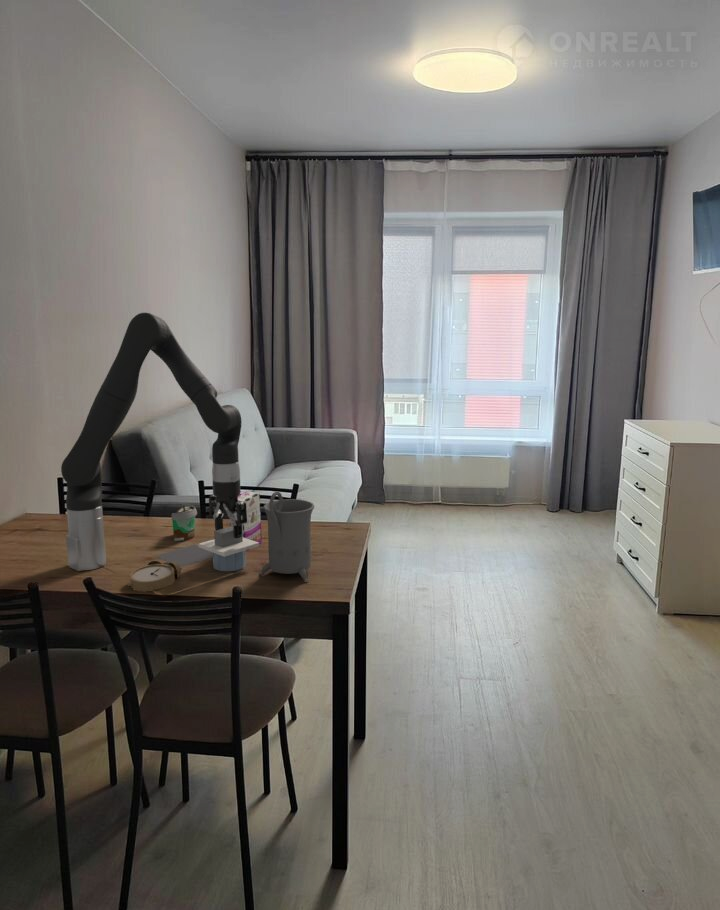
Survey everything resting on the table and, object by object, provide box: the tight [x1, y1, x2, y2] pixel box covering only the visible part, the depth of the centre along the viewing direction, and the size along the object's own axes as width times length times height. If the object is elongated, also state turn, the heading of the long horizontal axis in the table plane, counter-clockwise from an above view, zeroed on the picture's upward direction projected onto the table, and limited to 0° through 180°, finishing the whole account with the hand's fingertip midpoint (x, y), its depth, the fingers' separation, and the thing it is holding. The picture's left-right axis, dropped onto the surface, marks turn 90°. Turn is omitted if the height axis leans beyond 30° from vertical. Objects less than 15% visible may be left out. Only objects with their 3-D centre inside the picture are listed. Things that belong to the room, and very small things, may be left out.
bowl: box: [212, 550, 247, 573], centre depth 191 cm, size 9×9×6 cm
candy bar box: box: [229, 491, 263, 553], centre depth 207 cm, size 11×5×16 cm, turn 161°
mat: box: [154, 544, 213, 568], centre depth 200 cm, size 14×14×1 cm
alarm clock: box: [127, 559, 183, 592], centre depth 180 cm, size 11×5×15 cm
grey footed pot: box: [258, 490, 315, 583], centre depth 183 cm, size 19×15×25 cm
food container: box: [171, 503, 198, 543], centre depth 216 cm, size 12×6×10 cm, turn 179°
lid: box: [197, 525, 260, 557], centre depth 190 cm, size 12×12×5 cm
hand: (228, 534), depth 190 cm, fingers open, 8 cm apart
